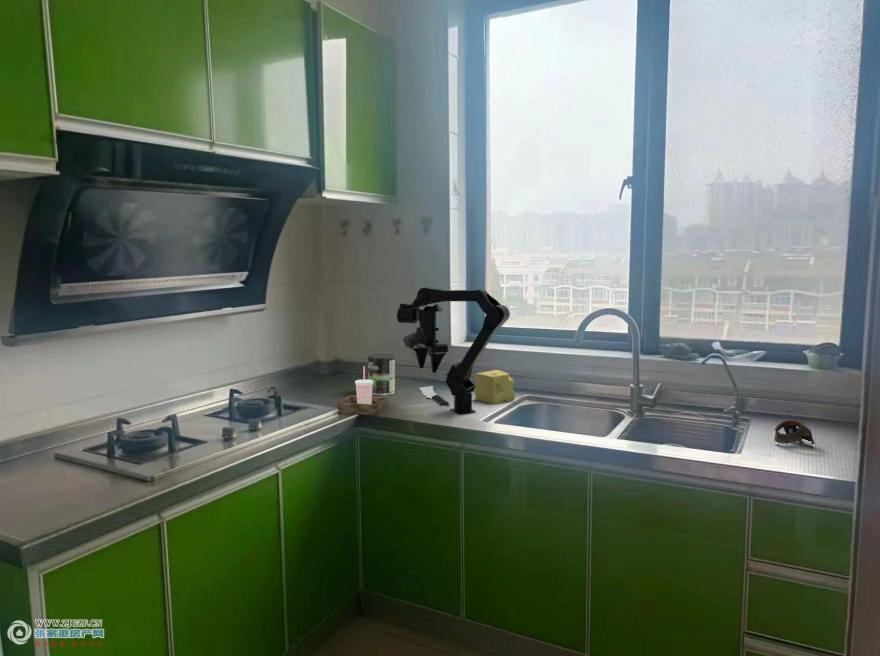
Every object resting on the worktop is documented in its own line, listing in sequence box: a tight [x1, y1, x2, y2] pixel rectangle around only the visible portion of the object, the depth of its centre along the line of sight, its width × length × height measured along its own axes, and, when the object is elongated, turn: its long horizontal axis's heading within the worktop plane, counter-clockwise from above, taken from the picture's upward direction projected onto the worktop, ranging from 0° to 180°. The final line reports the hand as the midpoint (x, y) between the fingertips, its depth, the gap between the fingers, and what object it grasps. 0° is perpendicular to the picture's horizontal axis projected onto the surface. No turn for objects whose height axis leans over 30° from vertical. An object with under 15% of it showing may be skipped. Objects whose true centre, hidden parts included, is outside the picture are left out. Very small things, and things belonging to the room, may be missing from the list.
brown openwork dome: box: [773, 419, 815, 445], centre depth 177 cm, size 12×10×8 cm
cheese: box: [474, 369, 516, 405], centre depth 230 cm, size 10×11×10 cm
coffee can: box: [367, 353, 396, 396], centre depth 241 cm, size 10×10×14 cm
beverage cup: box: [354, 366, 373, 404], centre depth 214 cm, size 6×6×14 cm
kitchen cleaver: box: [419, 385, 450, 407], centre depth 235 cm, size 31×2×10 cm
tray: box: [336, 394, 390, 416], centre depth 214 cm, size 14×12×3 cm
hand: (427, 370), depth 216 cm, fingers open, 9 cm apart
